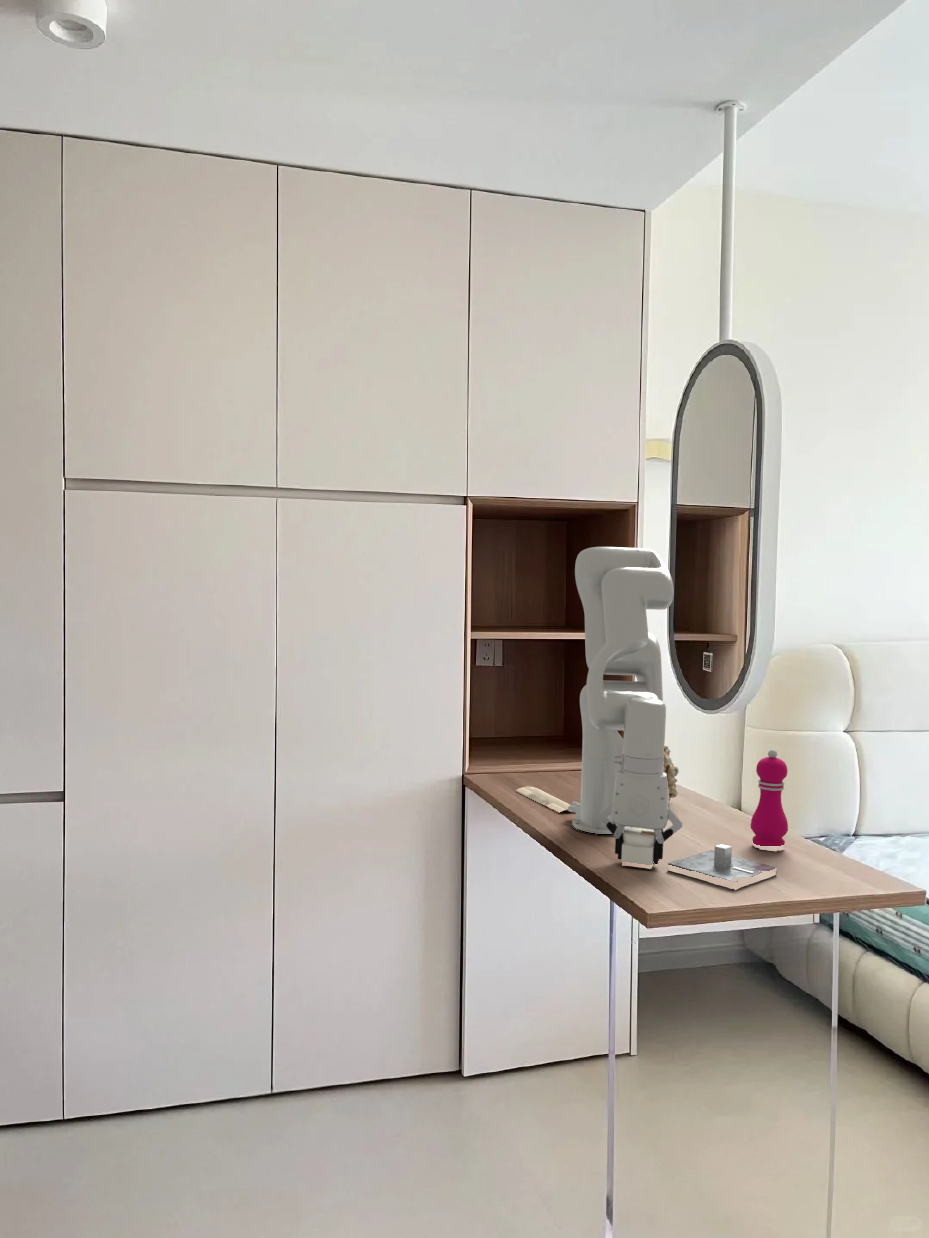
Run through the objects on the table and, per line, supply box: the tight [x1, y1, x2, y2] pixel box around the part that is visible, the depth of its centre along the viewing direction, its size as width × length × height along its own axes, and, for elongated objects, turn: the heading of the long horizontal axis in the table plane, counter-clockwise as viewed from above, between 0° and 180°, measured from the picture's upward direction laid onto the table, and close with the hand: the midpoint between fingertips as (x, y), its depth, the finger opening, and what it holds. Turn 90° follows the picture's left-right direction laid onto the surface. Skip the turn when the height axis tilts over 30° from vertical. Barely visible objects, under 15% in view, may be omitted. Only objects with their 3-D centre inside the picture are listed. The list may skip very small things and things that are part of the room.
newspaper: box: [515, 786, 571, 814], centre depth 232 cm, size 24×7×2 cm, turn 21°
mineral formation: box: [663, 745, 680, 803], centre depth 231 cm, size 8×13×15 cm, turn 6°
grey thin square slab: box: [667, 843, 778, 882], centre depth 179 cm, size 14×14×5 cm
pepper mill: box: [750, 749, 789, 846], centre depth 197 cm, size 7×7×20 cm
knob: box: [620, 827, 657, 865], centre depth 182 cm, size 6×6×6 cm
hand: (638, 859), depth 182 cm, fingers closed on knob, 6 cm apart
